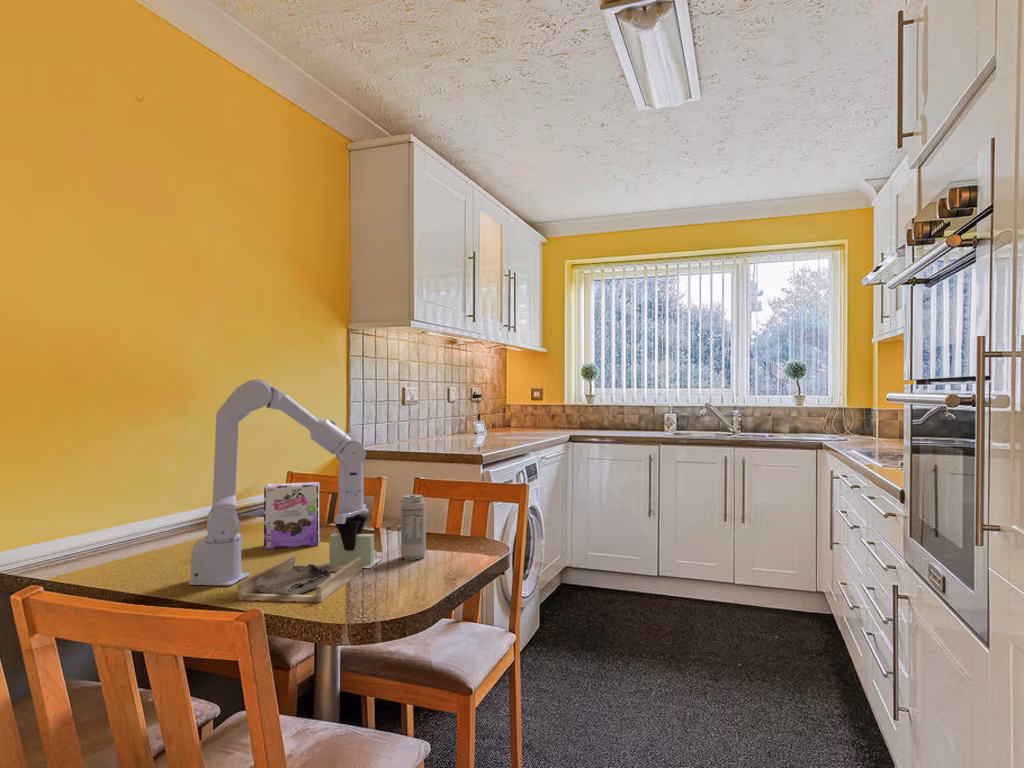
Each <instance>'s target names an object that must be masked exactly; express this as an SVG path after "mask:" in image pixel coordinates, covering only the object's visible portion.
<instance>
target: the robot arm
mask: <svg viewBox="0 0 1024 768" xmlns="http://www.w3.org/2000/svg"><path fill="white" fill-rule="evenodd" d="M264 407H265V408H267V409H272V410H279V411H281V412H282V413H284V414H285V415H287V416H288V417H289V418H291V419H292V420H294V421H295V422H297V423H299V425H301V426H303V427H305V428H306V429H307V430H308V431H309V436H310V439H311V440H312V441H313V442H315V443H316V444H317V445H319V446H320V447H322V448H323V449H325V450H326V451H327V452H328V453H330V454H331V455H335V457H336V459H337V460H338V472H337V473H338V475H337V476H338V477H337V478H338V510H337V513H336V514H335V515H334V525H335V527H336V529H337V530H338V532H339V533H338V534H340V535H341V538H342V542H343V546H344V549H345V550H348V551H353V550H354V548H355V542H356V534H363V530H364V526H365V524H366V522H367V520H368V515H363V514H367V513H369V511H370V510H369V508H367V504H366V503H364V502H365V501H364V469H363V468H364V462H363V461H365V459H366V457H367V452H366V449H365V448H364V445H363V444H362V443H361V442H359V441H357V440H355V439H353V435H352V434H351V433H346V432H345V431H344V430H342V429H341V428H340V427H339V426H337V422H336V421H335V420H334V419H331V420H329V419H328V418H322V419H318V418H317V417H316V416H315V415H313V414H312V413H311V412H309V411H308V410H307V409H305V408H304V407H303V406H302V405H300V404H299V403H298V402H297V401H295V399H293V398H292V397H290V396H289V395H288V394H286V393H285V392H283V391H281V390H280V389H278V388H276V387H274V386H270V385H269V383H267V382H266V381H264V380H262V379H258V378H255V379H251V380H247V381H246V382H244V383H242V384H240V385H239V386H237V387H236V388H235V389H234V390H233V391H232V392H231V394H230V395H228V397H227V399H226V400H225V401H224V402H223V403H222V405H221V406H220V408H218V410H217V411H216V414H215V415H216V418H215V436H214V437H215V439H214V459H213V462H214V463H213V482H212V483H213V485H212V486H213V487H212V502H211V505H212V506H211V507H210V508H211V509H210V511H209V512H208V514H207V516H206V531H207V535H205V536H204V538H202V539H198V540H197V541H195V543H194V544H193V545H192V548H191V552H190V553H191V554H190V581H188V585H191V586H223V587H224V586H226V587H228V586H231V585H234V584H235V583H237V582H239V580H240V581H241V580H244V579H245V578H247V577H249V576H250V572H242V534H240V533H238V532H239V530H240V527H241V526H240V525H241V523H240V519H239V517H238V513H237V510H236V508H237V504H236V499H237V498H236V496H237V495H236V494H237V492H236V490H237V467H238V465H237V464H238V447H239V446H238V442H239V423H240V422H241V421H243V420H244V418H245V417H247V416H248V415H249V414H250V413H252V412H254V411H256V410H259V409H262V408H264Z"/></svg>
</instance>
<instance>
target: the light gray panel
mask: <svg viewBox="0 0 1024 768" xmlns="http://www.w3.org/2000/svg"><path fill="white" fill-rule="evenodd" d="M381 559H382V558H374V562H373V563H372V564H371V565H369V564H362V568H371V569H373V568H374V567H375V566H376V565H377V564H376V563H378V562H379V561H380V560H381ZM381 561H382V560H381ZM381 561H380V562H381ZM380 562H379V563H380ZM379 563H378V564H379ZM375 564H376V565H375ZM323 565H341V566H346V565H347V564H330V560H329V561H327V562H325V563H324V564H323ZM374 565H375V566H374ZM373 566H374V567H373ZM372 567H373V568H372Z"/></svg>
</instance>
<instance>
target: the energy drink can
mask: <svg viewBox="0 0 1024 768" xmlns="http://www.w3.org/2000/svg"><path fill="white" fill-rule="evenodd" d="M426 519H427V518H426V501H425V499H424V496H423V494H417V493H415V494H414V493H413V494H404V495H403V496H402V500H401V501H400V555H401V556H402V558H403V559H404V558H405V559H404V560H406V559H409V560H408V561H416V560H415V559H418V560H422V559H423V558H424V557H425V555H426V553H427V540H426V539H427V538H426V537H427V536H426V535H427V534H426V533H427V531H426V529H427V525H426V524H427V523H426V522H427V521H426ZM421 558H422V559H421Z"/></svg>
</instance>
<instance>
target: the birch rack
mask: <svg viewBox="0 0 1024 768" xmlns="http://www.w3.org/2000/svg"><path fill="white" fill-rule="evenodd" d="M314 565H315V566H316V567H318V569H325V570H333V571H332V572H335V573H330V575H331V576H330V577H329V578H328V579H326V580H325V581H323V582H322V583H321V584H319V585H318V586H316V588H315V590H316V593H315V594H316V595H315V594H311V595H310V594H299V595H288V594H270V593H257V592H259V591H258V590H259V589H258V587H257V584H256V583H257V579H258V578H259V577H271V576H273V577H274V576H275V575H276V574H277V573H280V572H281V573H282V572H283V573H284V572H286V571H288V570H290V569H293V568H294V569H298V570H297V571H301V570H303V567H304V568H306V567H307V566H308V564H296V555H289V556H288V557H286V558H284V559H282V560H281V561H278V562H276V563H275V564H273V565H271V566H269V567H268V568H266V569H264V570H263V571H261V572H258V573H256V574H254V575H253V576H251V577H249V578H247V579H246V580H244V581H242V582H240V583H239V584H237V600H238V601H255V600H260V601H261V602H262V601H263V602H291V601H296V602H299V603H323V602H324V601H325V600H327V599H328V598H329V597H330V596H331V595H333V594H334V593H335V592H337V591H338V590H339V589H340V588H342V587H343V586H345V585H346V584H347V583H348V582H349V581H351V580H352V579H354V576H355V575H356V576H357V575H358V574H360V573H361V572H362V571H363V569H362V557H357V558H356V559H355V560H353V561H352V562H350V563H349V564H347V565H346V566H341V565H324V564H314ZM361 570H362V571H361ZM360 571H361V572H360ZM359 572H360V573H359ZM307 576H309V574H308V575H307ZM356 576H355V577H356ZM350 579H351V580H350ZM255 592H256V593H255ZM260 601H259V602H260ZM300 601H301V602H300ZM322 601H323V602H322Z"/></svg>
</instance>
